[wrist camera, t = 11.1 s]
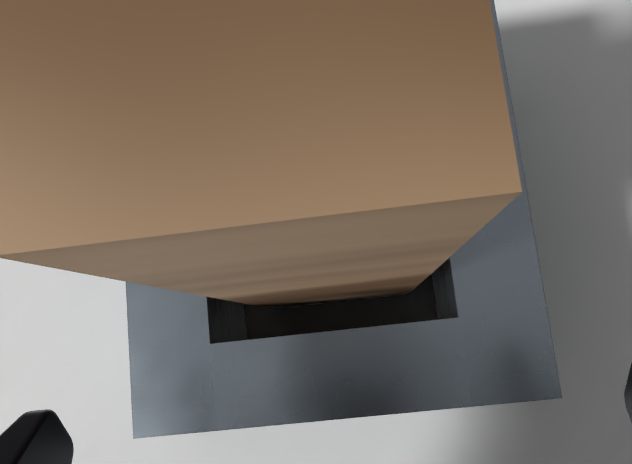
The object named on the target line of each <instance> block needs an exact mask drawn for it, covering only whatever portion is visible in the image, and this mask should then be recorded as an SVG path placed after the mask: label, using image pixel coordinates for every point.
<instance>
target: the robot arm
mask: <svg viewBox="0 0 632 464" xmlns="http://www.w3.org/2000/svg"><path fill="white" fill-rule="evenodd" d="M624 398H625V404H626V408H627V411H628V414H629V416H630V419H631V422H632V364H631V368H630V372H629V376H628V380H627V384H626V388H625V393H624ZM72 458H73V442H72V439H71V437H70V436H69V434H68V432H67V431H66V429H65V427H64V426H63V424H62V423H61V421H60V419H59V418H58V416H57V414H56V413H55V412H54V411H52V410H37V411H29V412H26V413H24V414H23V415H22V416H20V417H19V418H18V419H17V420H16V421H15V422H14V423H13V424H12V425H11V426H10V427H9V428H8V429H6V430H5V431H4V432H3V433H2V434H1V435H0V464H72Z"/></svg>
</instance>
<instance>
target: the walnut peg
mask: <svg viewBox="0 0 632 464" xmlns="http://www.w3.org/2000/svg"><path fill="white" fill-rule="evenodd" d="M521 192H522V188H521V182H520V176H519V170H518V164H517V158H516V153H515V147H514V141H513V135H512V129H511V123H510V117H509V111H508V105H507V100H506V94H505V88H504V82H503V76H502V70H501V64H500V58H499V52H498V47H497V41H496V35H495V29H494V23H493V17H492V11H491V5H490V0H0V258H4V259H9V260H14V261H20V262H25V263H30V264H36V265H41V266H46V267H52V268H57V269H62V270H68V271H73V272H78V273H84V274H89V275H94V276H100V277H105V278H110V279H116V280H121V281H126V282H132V283H137V284H142V285H148V286H153V287H158V288H164V289H169V290H174V291H180V292H185V293H190V294H196V295H201V296H206V297H212V298H217V299H222V300H228V301H233V302H238V303H244V304H249V305H254V306H260V307H265V308H270V309H279V308H288V307H297V306H306V305H315V304H324V303H333V302H342V301H352V300H361V299H370V298H379V297H388V296H397V295H406V294H409V293H410V292H412V291H413V290H414V289H415V288H416V287H417V286H418V285H419V284H420V283H422V282H423V281H424V280H425V279H426V278H427V277H428V276H429V275H430V274H432V273H433V272H434V271H435V270H436V269H437V268H438V267H439V266H440V265H442V264H443V263H444V262H445V261H446V260H447V259H448V258H449V257H450V256H452V255H453V254H454V253H455V252H456V251H457V250H458V249H459V248H460V247H461V246H463V245H464V244H465V243H466V242H467V241H468V240H469V239H470V238H471V237H473V236H474V235H475V234H476V233H477V232H478V231H479V230H480V229H481V228H483V227H484V226H485V225H486V224H487V223H488V222H489V221H490V220H491V219H493V218H494V217H495V216H496V215H497V214H498V213H499V212H500V211H501V210H502V209H504V208H505V207H506V206H507V205H508V204H509V203H510V202H511V201H512V200H514V199H515V198H516V197H517V196H518V195H519V194H520V193H521Z"/></svg>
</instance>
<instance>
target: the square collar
mask: <svg viewBox="0 0 632 464" xmlns="http://www.w3.org/2000/svg"><path fill="white" fill-rule="evenodd" d="M490 5H491V11H492V17H493V23H494V29H495V35H496V41H497V47H498V52H499V58H500V64H501V70H502V76H503V82H504V88H505V94H506V100H507V105H508V111H509V117H510V123H511V129H512V135H513V141H514V147H515V153H516V158H517V164H518V170H519V176H520V182H521V188H522V192H521V193H520V194H519V195H518V196H517V197H516V198H515V199H514V200H512V201H511V202H510V203H509V204H508V205H507V206H506V207H505V208H504V209H502V210H501V211H500V212H499V213H498V214H497V215H496V216H495V217H494V218H493V219H491V220H490V221H489V222H488V223H487V224H486V225H485V226H484V227H483V228H481V229H480V230H479V231H478V232H477V233H476V234H475V235H474V236H473V237H471V238H470V239H469V240H468V241H467V242H466V243H465V244H464V245H463V246H461V247H460V248H459V249H458V250H457V251H456V252H455V253H454V254H453V255H452V256H450V257H449V258H448V259H447V260H446V261H445V262H444V263H443V264H442V265H440V266H439V267H438V268H437V269H436V270H435V271H434V272H433V273H432V280H433V287H434V294H435V302H436V309H437V316H438V320H430V321H421V322H411V323H402V324H393V325H383V326H374V327H364V328H355V329H346V330H336V331H327V332H317V333H308V334H299V335H289V336H280V337H270V338H261V339H251V340H247V333H246V321H245V309H244V303H238V302H233V301H228V300H222V299H217V298H212V297H206V296H201V295H196V294H190V293H185V292H180V291H174V290H169V289H164V288H158V287H153V286H148V285H142V284H137V283H132V282H126V297H127V318H128V339H129V359H130V380H131V401H132V421H133V439H134V438H145V437H155V436H166V435H176V434H187V433H197V432H208V431H219V430H229V429H240V428H250V427H261V426H271V425H282V424H293V423H303V422H314V421H324V420H335V419H345V418H356V417H367V416H377V415H388V414H398V413H409V412H419V411H430V410H441V409H451V408H462V407H472V406H483V405H493V404H504V403H515V402H525V401H536V400H546V399H557V398H562V395H561V389H560V383H559V378H558V372H557V366H556V360H555V354H554V348H553V343H552V337H551V331H550V325H549V319H548V313H547V308H546V302H545V296H544V290H543V284H542V278H541V273H540V267H539V261H538V255H537V249H536V243H535V238H534V232H533V226H532V220H531V214H530V208H529V203H528V197H527V191H526V185H525V179H524V173H523V168H522V162H521V156H520V150H519V144H518V138H517V133H516V127H515V121H514V115H513V109H512V103H511V98H510V92H509V86H508V80H507V74H506V68H505V63H504V57H503V51H502V45H501V39H500V33H499V28H498V22H497V16H496V10H495V4H494V0H490Z"/></svg>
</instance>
